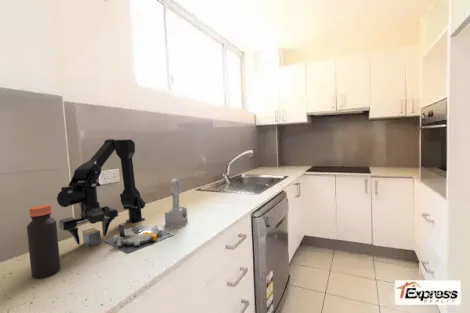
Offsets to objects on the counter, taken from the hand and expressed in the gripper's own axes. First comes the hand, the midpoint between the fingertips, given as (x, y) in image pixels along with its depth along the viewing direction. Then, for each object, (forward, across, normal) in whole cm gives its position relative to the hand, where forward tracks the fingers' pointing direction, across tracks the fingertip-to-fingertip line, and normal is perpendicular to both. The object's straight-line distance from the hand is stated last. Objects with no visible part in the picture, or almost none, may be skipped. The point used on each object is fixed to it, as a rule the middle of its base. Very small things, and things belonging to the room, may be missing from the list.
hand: (92, 240), depth 93 cm
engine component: (+2, +33, -9) cm, 34 cm away
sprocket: (+1, +13, -11) cm, 17 cm away
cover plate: (+1, +13, -11) cm, 17 cm away
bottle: (+2, -17, -12) cm, 21 cm away
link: (+1, 0, 0) cm, 1 cm away
